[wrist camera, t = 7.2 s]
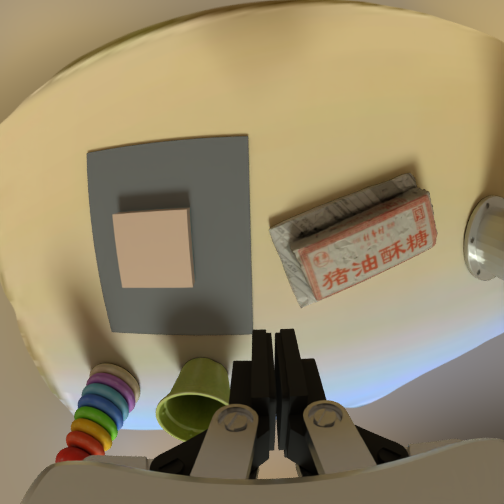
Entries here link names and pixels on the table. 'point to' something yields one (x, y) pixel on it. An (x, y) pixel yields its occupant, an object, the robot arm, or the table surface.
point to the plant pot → (194, 399)
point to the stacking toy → (100, 412)
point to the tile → (155, 248)
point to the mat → (203, 233)
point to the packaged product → (354, 238)
